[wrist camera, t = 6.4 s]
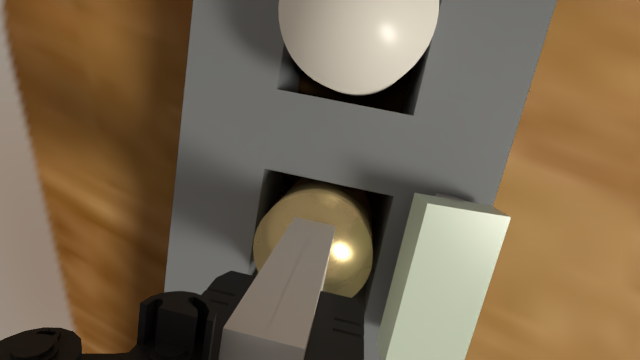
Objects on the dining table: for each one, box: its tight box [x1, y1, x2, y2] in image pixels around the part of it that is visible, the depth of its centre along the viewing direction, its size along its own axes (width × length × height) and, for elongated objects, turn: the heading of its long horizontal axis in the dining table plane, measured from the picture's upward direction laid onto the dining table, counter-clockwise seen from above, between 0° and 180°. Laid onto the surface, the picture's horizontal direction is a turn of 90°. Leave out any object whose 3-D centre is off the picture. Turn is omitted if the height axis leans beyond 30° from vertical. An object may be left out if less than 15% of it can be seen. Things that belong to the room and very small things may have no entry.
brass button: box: [253, 177, 373, 298], centre depth 15 cm, size 4×4×5 cm
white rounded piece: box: [278, 0, 439, 97], centre depth 12 cm, size 4×4×5 cm
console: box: [164, 0, 557, 360], centre depth 16 cm, size 26×12×4 cm, turn 169°
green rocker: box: [376, 193, 511, 360], centre depth 13 cm, size 6×3×2 cm, turn 169°
